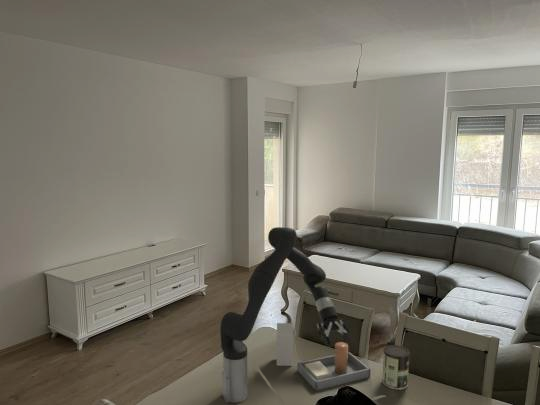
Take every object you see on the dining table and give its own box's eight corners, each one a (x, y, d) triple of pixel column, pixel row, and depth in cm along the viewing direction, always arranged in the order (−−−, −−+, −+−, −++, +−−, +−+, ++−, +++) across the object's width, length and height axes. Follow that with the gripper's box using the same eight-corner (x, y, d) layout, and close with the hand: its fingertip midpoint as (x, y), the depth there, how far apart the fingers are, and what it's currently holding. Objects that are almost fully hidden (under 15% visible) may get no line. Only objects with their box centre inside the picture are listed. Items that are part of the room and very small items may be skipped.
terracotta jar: (338, 376, 173) (339, 349, 172) (332, 369, 178) (332, 343, 177) (349, 373, 175) (350, 346, 174) (342, 367, 180) (343, 341, 179)
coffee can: (406, 377, 175) (408, 346, 173) (409, 391, 165) (411, 358, 163) (381, 374, 177) (382, 343, 175) (382, 388, 167) (384, 355, 165)
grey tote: (315, 392, 163) (315, 382, 162) (297, 372, 178) (297, 362, 177) (370, 379, 173) (370, 369, 172) (348, 361, 188) (348, 351, 187)
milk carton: (292, 367, 181) (293, 326, 179) (276, 367, 182) (276, 326, 179) (292, 359, 188) (292, 320, 186) (276, 359, 189) (277, 319, 186)
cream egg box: (316, 385, 166) (316, 376, 166) (304, 373, 175) (305, 364, 175) (331, 381, 169) (331, 372, 168) (319, 369, 178) (319, 361, 178)
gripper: (315, 308, 181) (328, 344, 172) (343, 303, 186) (356, 338, 177) (309, 315, 186) (321, 350, 177) (336, 310, 192) (349, 344, 183)
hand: (339, 344), depth 177 cm, fingers open, 8 cm apart
